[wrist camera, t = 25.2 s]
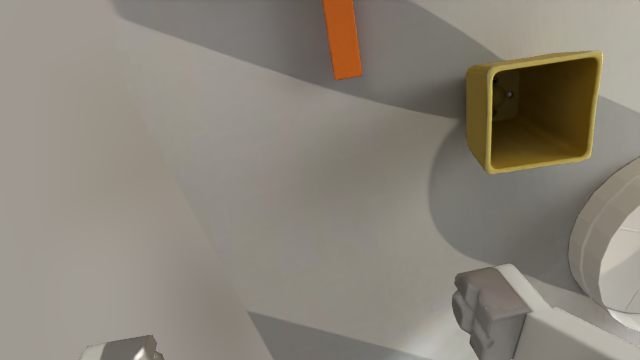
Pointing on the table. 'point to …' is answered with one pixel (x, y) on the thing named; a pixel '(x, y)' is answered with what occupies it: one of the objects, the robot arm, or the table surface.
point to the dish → (611, 246)
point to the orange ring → (342, 38)
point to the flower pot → (533, 110)
